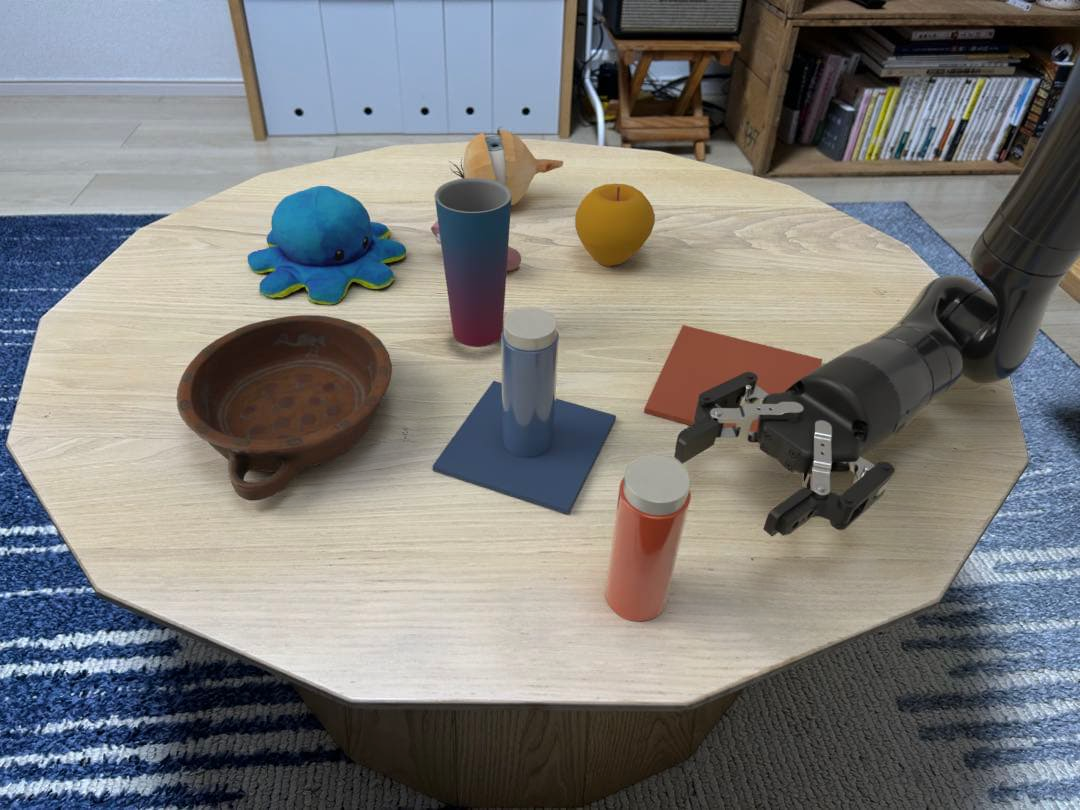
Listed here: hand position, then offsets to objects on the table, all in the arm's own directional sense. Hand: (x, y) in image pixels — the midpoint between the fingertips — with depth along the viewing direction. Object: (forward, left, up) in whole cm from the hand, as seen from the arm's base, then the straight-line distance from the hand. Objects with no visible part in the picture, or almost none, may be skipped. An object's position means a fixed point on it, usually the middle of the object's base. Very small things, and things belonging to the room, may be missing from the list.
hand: (722, 487), depth 54 cm
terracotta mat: (+2, -20, -7) cm, 21 cm away
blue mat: (+17, -5, -7) cm, 18 cm away
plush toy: (+49, -23, -7) cm, 54 cm away
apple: (+20, -37, -7) cm, 42 cm away
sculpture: (+37, -45, -7) cm, 58 cm away
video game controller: (+34, -30, -7) cm, 45 cm away
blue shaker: (+17, -5, -6) cm, 18 cm away
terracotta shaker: (+4, +6, -7) cm, 10 cm away
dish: (+37, 0, -7) cm, 37 cm away
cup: (+28, -18, -7) cm, 34 cm away
